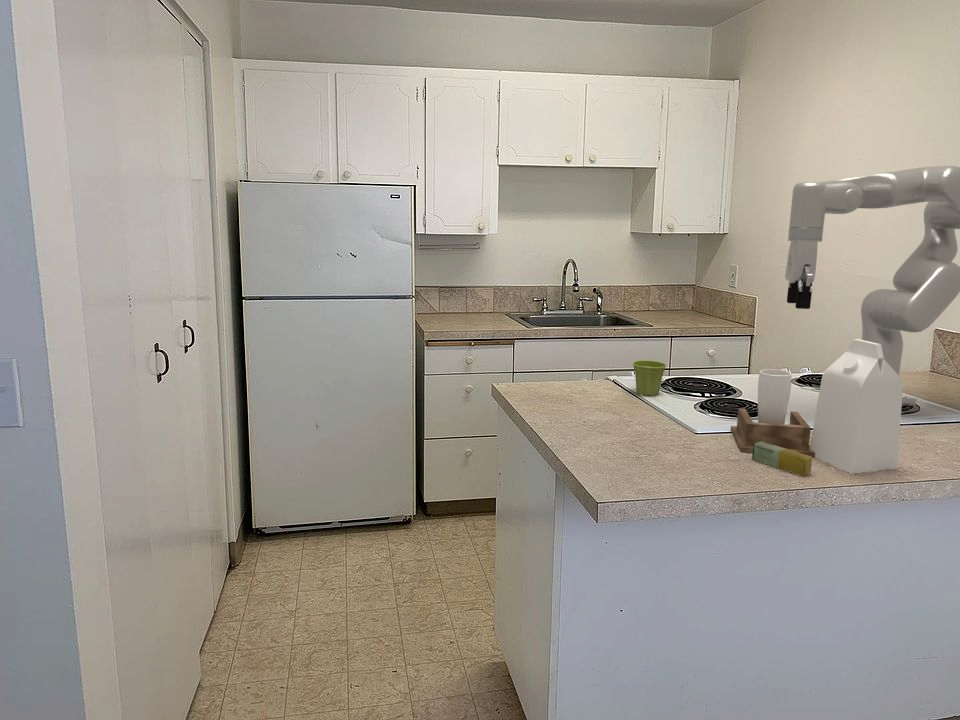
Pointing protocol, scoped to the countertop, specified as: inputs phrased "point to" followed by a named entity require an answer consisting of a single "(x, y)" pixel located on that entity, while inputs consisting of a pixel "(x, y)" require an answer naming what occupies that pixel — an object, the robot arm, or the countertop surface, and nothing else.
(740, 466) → the countertop surface
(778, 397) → the drinking glass
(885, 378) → the milk
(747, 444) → the wooden open tray
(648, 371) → the plant pot
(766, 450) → the medication box
